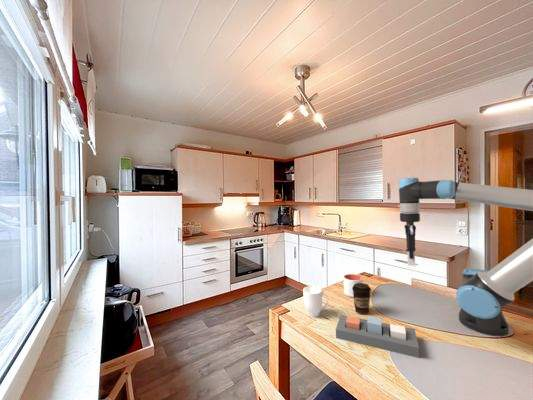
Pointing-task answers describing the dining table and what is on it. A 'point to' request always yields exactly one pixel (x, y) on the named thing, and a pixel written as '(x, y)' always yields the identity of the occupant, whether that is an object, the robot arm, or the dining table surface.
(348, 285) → the cup
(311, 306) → the mug
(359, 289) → the coffee cup
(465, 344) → the dining table surface
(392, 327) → the key white
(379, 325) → the key slate
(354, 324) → the key rust
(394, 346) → the key panel
